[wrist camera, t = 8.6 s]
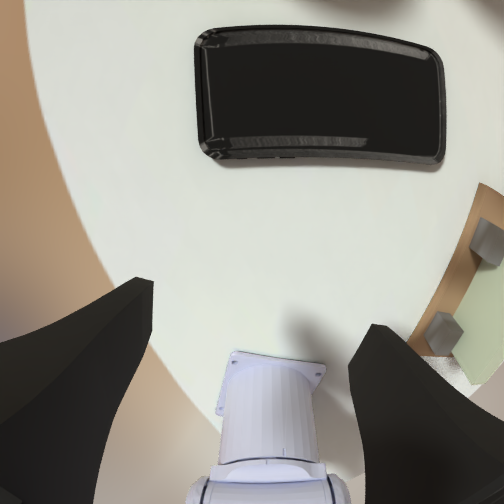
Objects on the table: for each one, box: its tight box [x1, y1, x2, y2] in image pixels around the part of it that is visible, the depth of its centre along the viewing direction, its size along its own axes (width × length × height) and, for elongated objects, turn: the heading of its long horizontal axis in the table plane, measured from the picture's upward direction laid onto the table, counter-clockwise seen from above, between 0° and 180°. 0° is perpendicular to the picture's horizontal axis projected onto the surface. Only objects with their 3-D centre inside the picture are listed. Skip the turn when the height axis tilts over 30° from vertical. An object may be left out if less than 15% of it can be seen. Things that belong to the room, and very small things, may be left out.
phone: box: [194, 25, 446, 165], centre depth 14 cm, size 8×1×15 cm
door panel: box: [451, 258, 504, 385], centre depth 15 cm, size 10×2×6 cm, turn 167°
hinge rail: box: [407, 183, 504, 357], centre depth 17 cm, size 15×7×4 cm, turn 168°
